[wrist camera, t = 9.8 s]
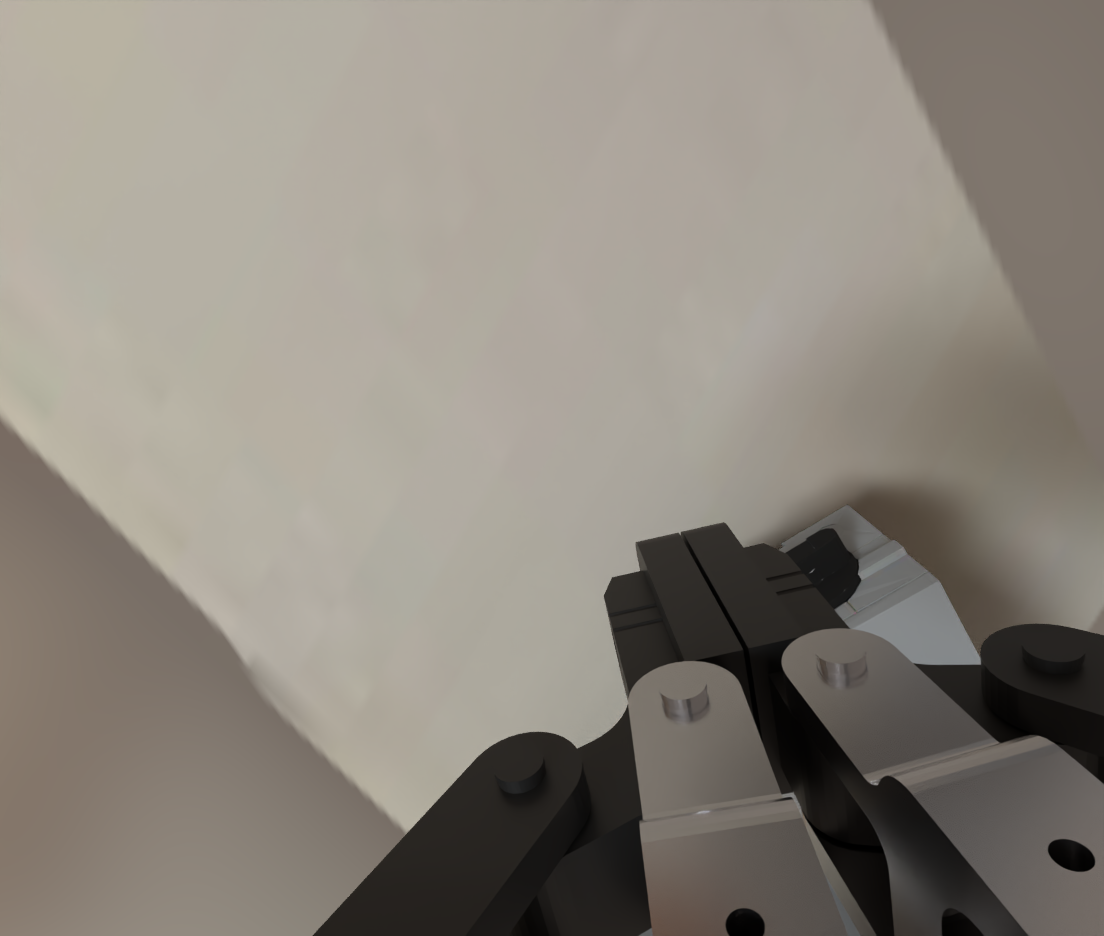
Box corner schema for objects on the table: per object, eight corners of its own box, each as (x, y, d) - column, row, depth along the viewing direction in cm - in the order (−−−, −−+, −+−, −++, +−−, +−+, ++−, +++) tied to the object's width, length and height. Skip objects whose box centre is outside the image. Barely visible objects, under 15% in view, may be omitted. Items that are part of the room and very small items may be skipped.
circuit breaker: (798, 449, 36) (988, 596, 22) (913, 654, 40) (1135, 889, 26) (667, 528, 37) (768, 719, 23) (793, 721, 41) (944, 983, 27)
